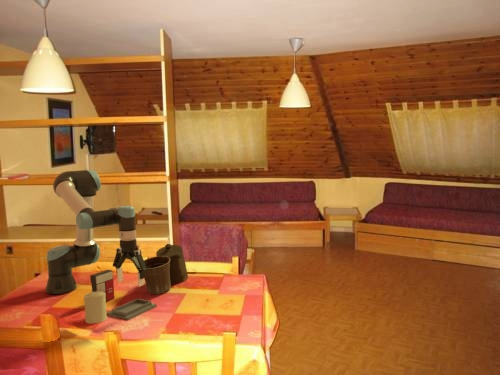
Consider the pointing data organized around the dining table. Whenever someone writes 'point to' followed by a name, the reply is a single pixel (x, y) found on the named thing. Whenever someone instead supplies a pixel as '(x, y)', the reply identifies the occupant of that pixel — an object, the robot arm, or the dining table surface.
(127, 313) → the tray
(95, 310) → the can
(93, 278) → the red and grey box
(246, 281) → the dining table surface
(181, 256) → the wooden container
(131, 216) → the robot arm
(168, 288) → the plant pot
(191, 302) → the dining table surface
